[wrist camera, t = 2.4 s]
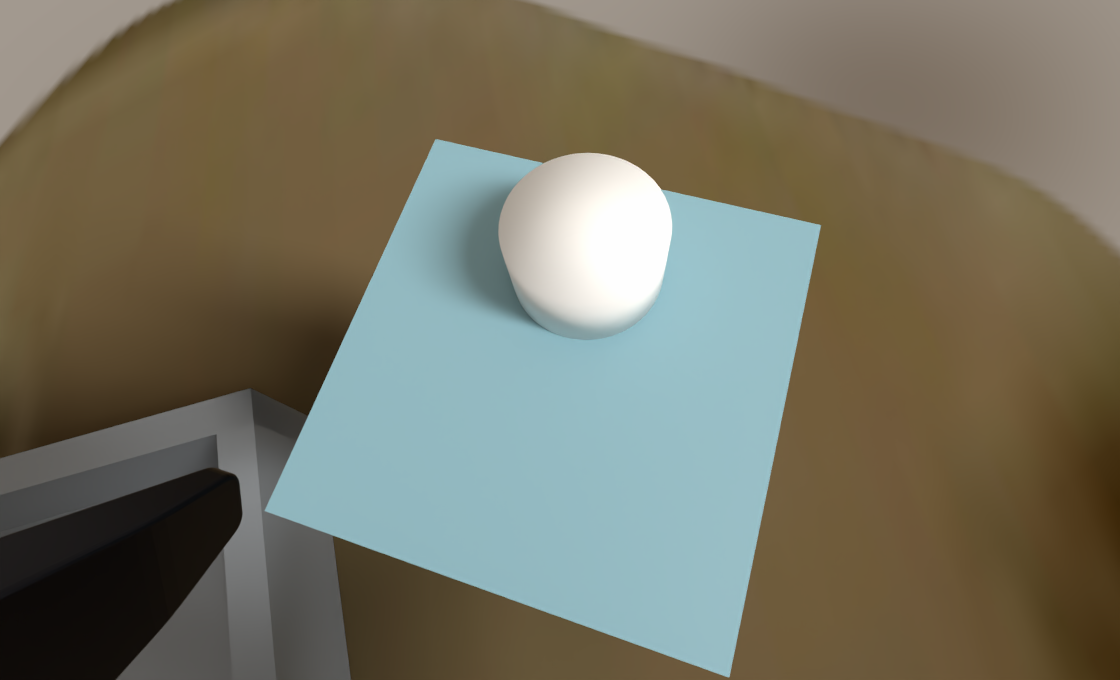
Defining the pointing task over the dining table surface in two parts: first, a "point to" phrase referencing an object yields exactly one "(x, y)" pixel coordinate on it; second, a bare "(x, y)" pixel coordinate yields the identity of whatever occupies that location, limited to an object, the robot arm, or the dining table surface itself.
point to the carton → (564, 395)
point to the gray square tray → (244, 563)
